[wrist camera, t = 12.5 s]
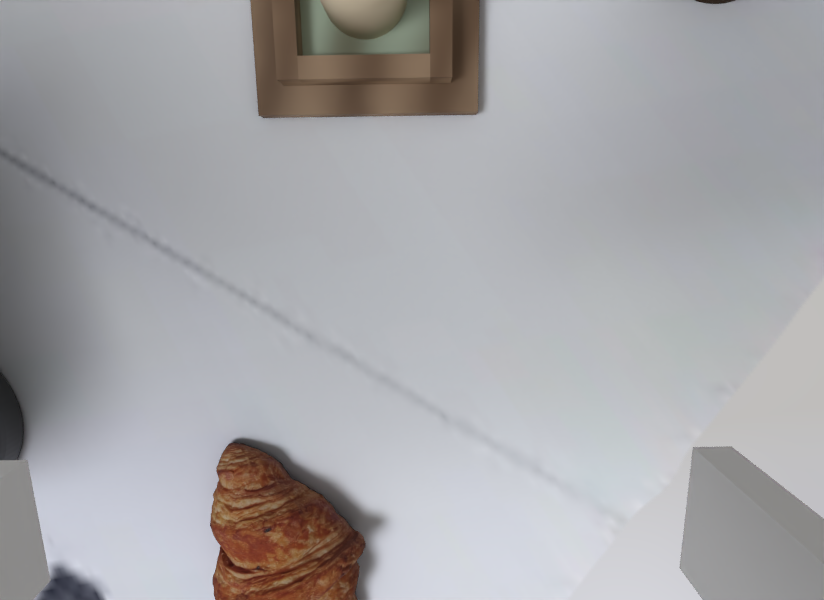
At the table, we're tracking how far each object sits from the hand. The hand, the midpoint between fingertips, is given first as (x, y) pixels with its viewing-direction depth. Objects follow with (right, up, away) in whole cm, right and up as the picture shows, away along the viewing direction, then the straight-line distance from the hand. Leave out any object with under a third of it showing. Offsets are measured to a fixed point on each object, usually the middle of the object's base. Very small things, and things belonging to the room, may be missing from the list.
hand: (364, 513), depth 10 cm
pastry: (-10, -17, +36) cm, 41 cm away
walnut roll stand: (-2, +26, +26) cm, 37 cm away
